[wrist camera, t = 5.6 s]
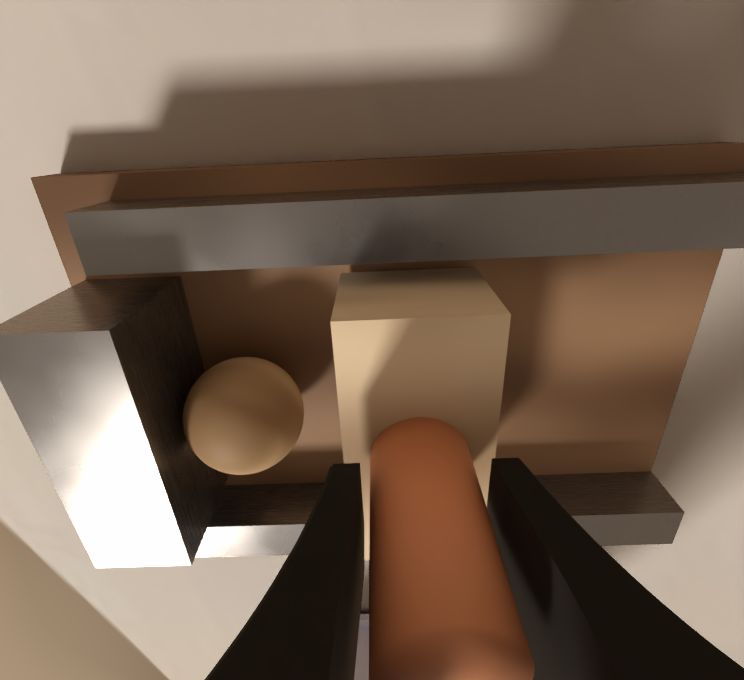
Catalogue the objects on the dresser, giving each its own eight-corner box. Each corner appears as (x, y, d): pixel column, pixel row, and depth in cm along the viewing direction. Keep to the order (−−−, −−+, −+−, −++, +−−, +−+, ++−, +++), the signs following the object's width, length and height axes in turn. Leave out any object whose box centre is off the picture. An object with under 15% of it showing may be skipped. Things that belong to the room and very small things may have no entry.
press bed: (622, 491, 19) (704, 610, 14) (174, 505, 19) (110, 626, 14) (725, 142, 13) (934, 149, 8) (58, 173, 13) (-117, 198, 8)
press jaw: (461, 471, 16) (544, 784, 8) (356, 474, 16) (343, 788, 8) (475, 267, 13) (639, 483, 5) (341, 272, 13) (292, 494, 5)
